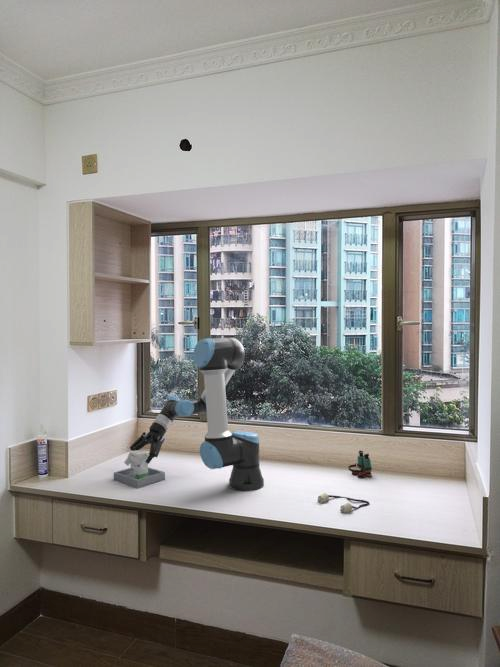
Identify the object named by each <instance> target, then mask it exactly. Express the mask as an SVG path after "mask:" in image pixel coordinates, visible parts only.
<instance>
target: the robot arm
mask: <svg viewBox="0 0 500 667" xmlns="http://www.w3.org/2000/svg"><path fill="white" fill-rule="evenodd" d="M245 352H246V351H245V348H244V346H243V344H242V343H241V341H239V340H238V339H237V338H234V337H230V336H228V337H208V338H203V339H200V340H199V341H198V342H196V344H195V346H194V348H193V355H192V356H193V362H194V365H196V367H198V368H199V372H201V373H202V374H203V379H204V380H203V381H204V390H203V392H202V393H201V395H200V397H197V398H189V399H180V398H179V397H177V396H173V395H172V396H170V397H169V398H168V399H167V401H166V402H165V404H164V405H163V407H162V409H161V410H160V411H159V413H158V414H157V416H156V418H154V420H153V422H152V423H151V425H150V427H149V432H148V433H146V432H145V431H143V432H142V434H141V435H140V436H139V437H138V438H137V439H136V440H135V441H134V442H133V443H132V444H131V445H130V447H129V449H130V451H136V450H140V451H141V449H142V448H144V447H145V446H147V445H150V446H149V447H150V448H149V452H148V453H147V456H146V458H145V459H144V461H143V462H142V464H141V465H140V468H141V469H142V470H145V468H146V467H147V465H148V466H149V464H151V461H152V460H153V459H154V458H158V456H159V454H160V451H161V450H162V449H161V448H162V446H163V443H164V441H165V438H164V436H165V435H166V433H167V430H168V429H169V428H170V426H171V425H172V424H173V422H174V420H175V419H176V418H180V417H181V418H185V417H189V416H195V415H200V414H201V415H202V414H206V422H207V424H206V425H207V433H206V434H205V435H204V441H203V442H201V444H200V446H199V454H200V459H201V461H202V462H203V464H204V466H206V467H207V468H209V469H210V470H216V469H222V468H226V467H230V466H232V469H231V472H230V473H231V474H230V477H229V479H228V486H229V487H230V488H231V489H233V490H236V491H255V490H258V489H261V488H263V487H264V485H265V480H264V477H263V474H262V471H261V468H260V438H259V435H258V434H257V433H255V432H252V431H243V430H239V431H238V430H236V431H233V432H231V431H230V430H229V420H228V408H227V407H228V406H227V394H226V393H227V392H226V386H227V385H228V383H229V381H230V380H231V378H232V376H233V375H234V373H235V371H238V370H239V369H240V368H241V366H243V365H242V364H243V363H244V360H245V356H246V355H245ZM123 463H124V464H125V465H126V466H130V452H129V454H128V455H127V457H126V459H125V460H124V462H123Z"/></svg>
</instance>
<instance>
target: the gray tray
mask: <svg viewBox="0 0 500 667" xmlns="http://www.w3.org/2000/svg"><path fill="white" fill-rule="evenodd" d="M113 481H116V482H117V483H121V484H124V485H127V486H129V487H132V488H136V489H140V488H143V487H146V486H150V485H153V484H156V483H159V482H162V481H166V472H165V471H162V470H159V469H155V468H151V467H149V466H148V477H144V478H141V479H135V478H133V477H131V467H128V468H124V469H121V470H118V471H114V472H113Z"/></svg>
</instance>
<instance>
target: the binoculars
mask: <svg viewBox="0 0 500 667" xmlns="http://www.w3.org/2000/svg"><path fill="white" fill-rule="evenodd" d="M358 454H359V455H357V462H355V464H351V465H348V467H347V468H348V470H349V471H350V472H351V475H352V476H357V478H359V479H360V478H364V477H365V476H366V477H373V473H372V469H373V468H372V463H371V459H370V457H369V456H370V454H369V453H364V451H363V450H359V451H358ZM353 468H356V469H353ZM357 468H358V469H357Z"/></svg>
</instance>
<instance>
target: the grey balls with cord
mask: <svg viewBox="0 0 500 667" xmlns="http://www.w3.org/2000/svg"><path fill="white" fill-rule="evenodd" d="M330 498H337V499H339V498H340V499H346V500H349V501H353V502H360V503H363V504H360V505H359V506H358V507H357V506H354V505H352V504H351V503H350V502H347V503H344V504H342V505H340V509H339V511H340V512H341V513H345V514H347V513H350V512H351V511H353V509H354V510H359V509H361V508H362V507H366V506H369V505H370V504H371V503H370V502H369V501H368V500H364V499H355V498H352V497H347V496H340V495H331V494H328V493H326V492H324V493H322V494H319V495H318V496H317V502H319V503H322V504H325V503H326V502H329V499H330Z"/></svg>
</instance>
